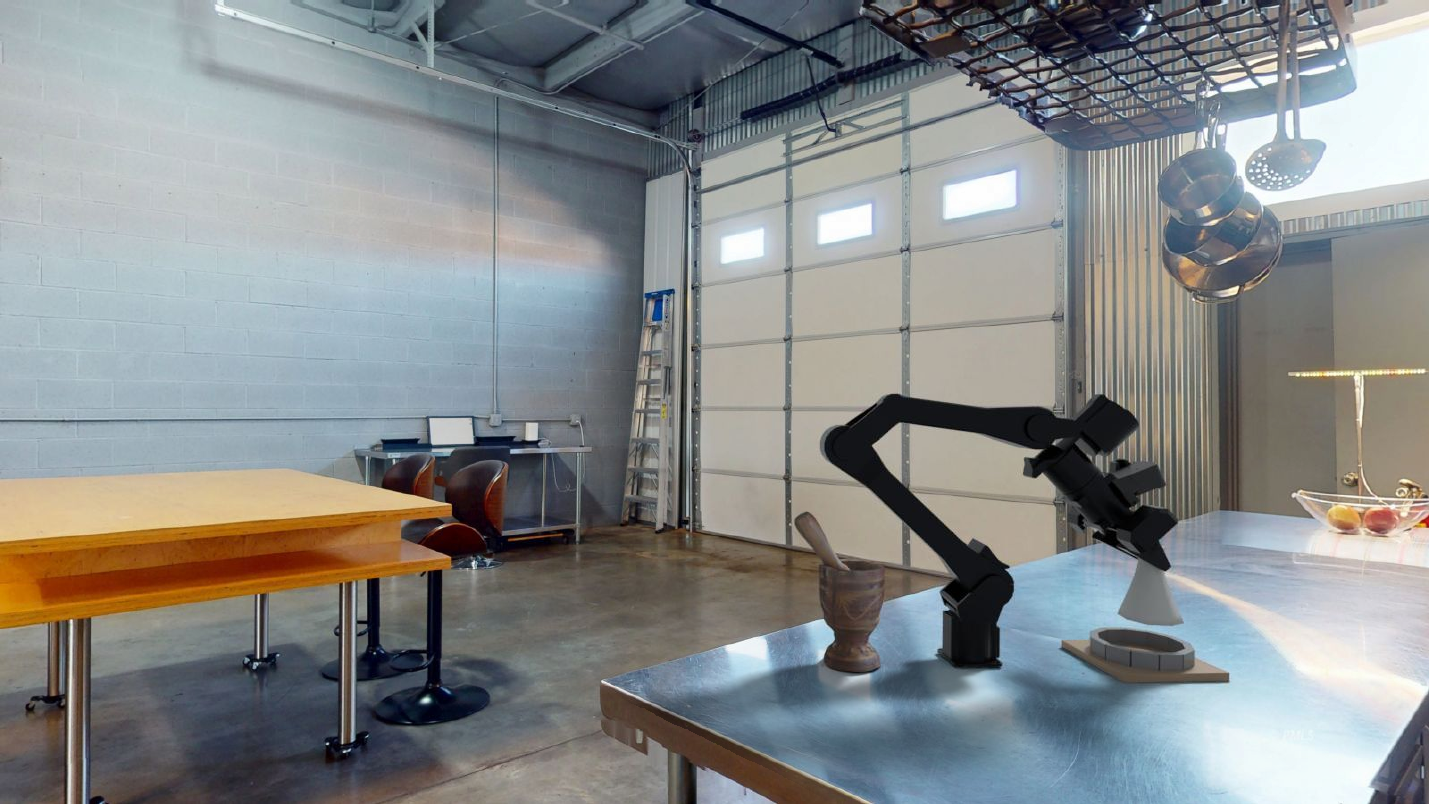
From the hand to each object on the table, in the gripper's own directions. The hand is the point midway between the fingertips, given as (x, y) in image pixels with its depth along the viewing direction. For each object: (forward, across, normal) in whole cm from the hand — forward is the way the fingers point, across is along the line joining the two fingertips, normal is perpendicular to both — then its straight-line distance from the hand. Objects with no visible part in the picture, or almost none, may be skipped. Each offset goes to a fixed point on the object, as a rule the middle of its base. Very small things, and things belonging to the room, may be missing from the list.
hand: (1161, 566), depth 98 cm
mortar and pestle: (-20, -3, +40) cm, 45 cm away
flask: (+4, 0, +6) cm, 8 cm away
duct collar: (+8, +1, +11) cm, 13 cm away
